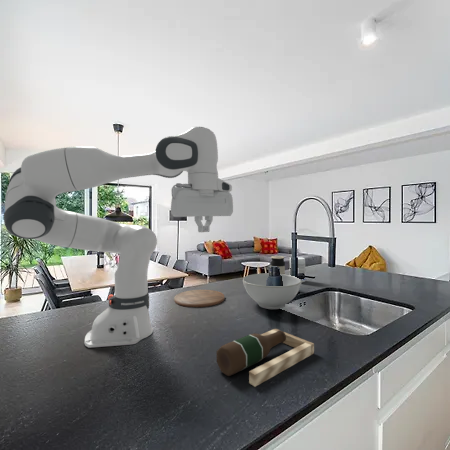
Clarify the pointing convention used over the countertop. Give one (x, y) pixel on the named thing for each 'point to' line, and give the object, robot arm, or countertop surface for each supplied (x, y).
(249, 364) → the beer bottle
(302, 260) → the supplement tub
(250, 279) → the decorative bowl
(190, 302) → the trivet
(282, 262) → the travel mug
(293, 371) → the countertop surface
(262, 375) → the u rest
